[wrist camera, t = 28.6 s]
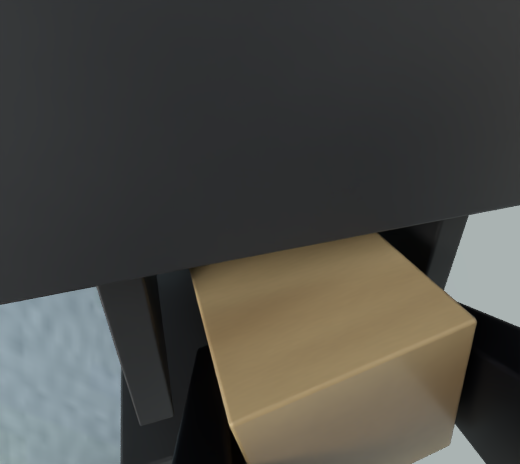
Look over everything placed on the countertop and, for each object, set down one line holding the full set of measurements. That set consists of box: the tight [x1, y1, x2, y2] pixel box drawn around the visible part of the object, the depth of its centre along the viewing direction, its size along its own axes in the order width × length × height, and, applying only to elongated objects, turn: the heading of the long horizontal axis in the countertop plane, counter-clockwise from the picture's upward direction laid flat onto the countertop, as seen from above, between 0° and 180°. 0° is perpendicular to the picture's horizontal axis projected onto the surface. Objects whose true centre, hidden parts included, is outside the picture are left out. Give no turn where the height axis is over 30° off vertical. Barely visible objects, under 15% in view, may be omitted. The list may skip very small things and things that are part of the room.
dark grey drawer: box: [96, 215, 468, 464], centre depth 12 cm, size 16×9×9 cm, turn 0°
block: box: [189, 233, 477, 464], centre depth 8 cm, size 4×4×4 cm
